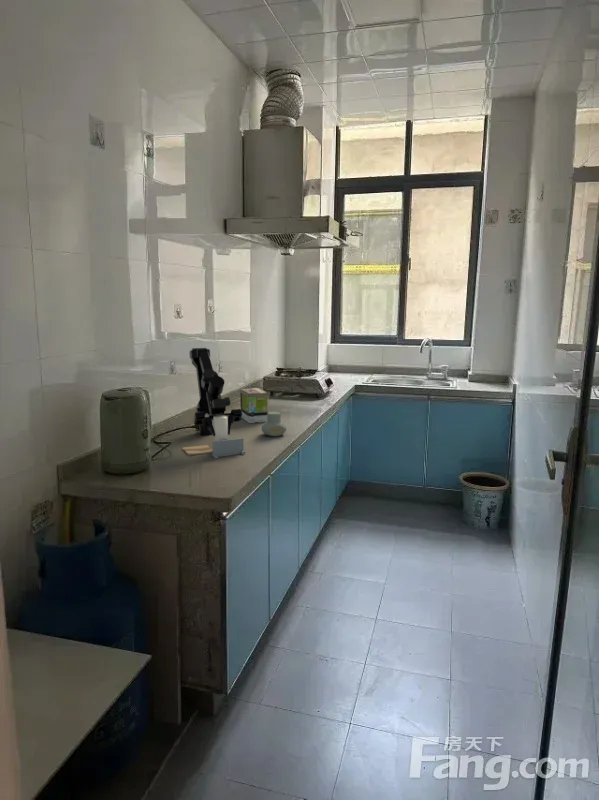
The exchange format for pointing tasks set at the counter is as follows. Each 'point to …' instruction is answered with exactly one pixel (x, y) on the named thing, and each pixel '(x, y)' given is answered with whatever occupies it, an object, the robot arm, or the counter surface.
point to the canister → (220, 427)
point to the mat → (197, 450)
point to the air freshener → (273, 425)
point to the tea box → (254, 405)
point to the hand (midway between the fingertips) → (221, 435)
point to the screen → (228, 447)
